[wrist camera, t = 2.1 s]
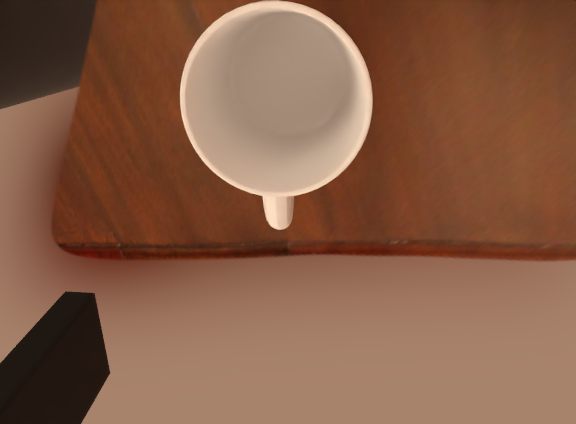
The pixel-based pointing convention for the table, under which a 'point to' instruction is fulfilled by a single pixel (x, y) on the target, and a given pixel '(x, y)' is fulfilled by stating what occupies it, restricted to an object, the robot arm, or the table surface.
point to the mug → (276, 101)
